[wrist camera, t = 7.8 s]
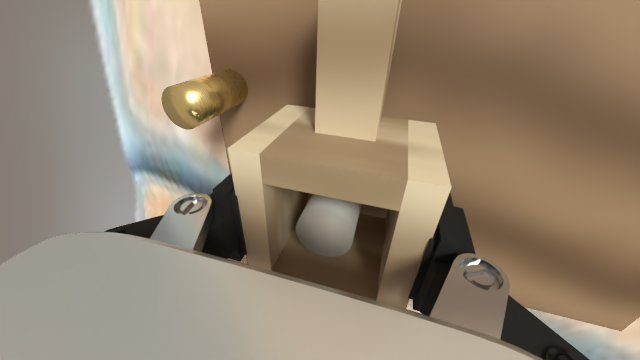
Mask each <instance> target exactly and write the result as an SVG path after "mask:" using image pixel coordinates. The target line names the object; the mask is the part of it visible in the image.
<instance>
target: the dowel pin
mask: <svg viewBox="0 0 640 360" xmlns="http://www.w3.org/2000/svg"><path fill="white" fill-rule="evenodd" d="M247 95H248V87H247V83H246V81H245V79H244V78H243V76H242V75H241V74H240V73H238V72H237V71H235V70H232V69H226V70H223V71H219V72H216V73H213V74H210V75H206V76H203V77H200V78H196V79H193V80H190V81H186V82H183V83H180V84H176V85H173V86H170V87H167V88H166V89H165V90H164V91H163V93H162V105H163V108H164V111H165V113H166V114H167V116H168V117H169V118H170V120H171V121H172V122H173V123H175V124H176V125H177V126H179V127H181V128H184V129H193V128H195V127H197V126H199V125H201V124H203V123H205V122H206V121H208V120H210V119H212V118H214V117H216V116H218V115H220V114H222V113H223V112H225V111H227V110H229V109H231V108H233V107H235V106H237V105H239V104H240V103H242V102H244V101H245V100H246V98H247Z"/></svg>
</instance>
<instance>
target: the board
mask: <svg viewBox="0 0 640 360" xmlns="http://www.w3.org/2000/svg"><path fill="white" fill-rule="evenodd" d="M199 2H200V7H201V13H202V18H203V24H204V29H205V35H206V41H207V46H208V52H209V57H210V63H211V69H212V74H213V73H216V72H219V71H223V70H226V69H232V70H235V71H237V72H238V73H240V74H241V75H242V76H243V78H244V79H245V81H246V83H247V87H248V95H247V98H246V100H245V101H244V102H242V103H240V104H239V105H237V106H235V107H233V108H231V109H229V110H227V111H225V112H223V113H222V114H220V119H221V124H222V130H223V136H224V141H225V147H226V152H227V158H228V164H229V169H230V174H231V173H232V172H231V166H230V160H229V154H228V149H227V148H229V147H230V146H231V145H233V144H234V143H235V142H237V141H238V140H240V139H241V138H242V137H244V136H245V135H246V134H248V133H249V132H250V131H252V130H253V129H255V128H256V127H257V126H259V125H260V124H261V123H263V122H264V121H266V120H267V119H268V118H270V117H271V116H272V115H274V114H275V113H276V112H278V111H279V110H281V109H282V108H283V107H285V106H286V105H295V106H303V107H311V108H316V70H317V32H318V0H199ZM382 117H390V118H398V119H406V120H414V121H422V122H430V123H436V126H437V130H438V134H439V138H440V142H441V146H442V150H443V154H444V159H445V163H446V167H447V171H448V175H449V179H450V183H451V187H452V188H451V190H450V193H451V197H452V202H453V206H455V207H460V208H463V210H464V213H465V217H466V220H467V224H468V228H469V231H470V235H471V238H472V242H473V246H474V249H475V253H476V254H477V255H480V256H483V257H486V258H487V259H489V260H491V261H493V262H494V263H495V264H497V265H498V266H499V267H500V268H501V269H502V270H503V271H504V272H505V273H506V275H507V277H508V279H509V283H510V289H509V294H508V295H509V296H511V297H512V298H513V299H514V300H516V301H517V302H518V303H519V304H521V305H522V306H523V307H527V308H531V309H535V310H539V311H543V312H547V313H551V314H555V315H559V316H563V317H567V318H571V319H575V320H579V321H583V322H587V323H591V324H595V325H599V326H603V327H607V328H611V329H615V330H619V331H622V330H623V329H625V328H626V327H627V326H629V325H630V324H631V323H632V322H634V321H635V320H636V319H637V318H639V317H640V0H402V3H401V9H400V15H399V20H398V26H397V32H396V38H395V44H394V50H393V56H392V62H391V68H390V73H389V79H388V85H387V91H386V97H385V103H384V109H383V115H382ZM387 212H388V209H385V208H380V207H375V206H370V205H365V204H360V203H356V202H351V201H346V200H341V199H336V198H331V197H326V196H321V195H316V194H311V193H308V203H307V205H306V207H305V209H304V210H303V212H302V214H301V216H300V218H299V220H298V222H297V224H296V234H297V237H298V239H299V241H300V242H301V243H302V244H303V245H304V246H305V247H306V248H307V249H308V250H310V251H312V252H313V253H316V254H318V255H321V256H326V257H336V256H340V255H343V254H345V253H346V252H347V251H348V250H349V249H350V248H351V246H352V242H353V238H354V234H355V230H356V226H357V222H358V218H359V214H360V213H363V214H367V215H372V216H377V217H382V218H386V216H387Z"/></svg>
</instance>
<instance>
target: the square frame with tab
mask: <svg viewBox="0 0 640 360" xmlns="http://www.w3.org/2000/svg"><path fill="white" fill-rule="evenodd" d="M401 3H402V0H318V32H317V70H316V108H311V107H303V106H295V105H286V106H285V107H283V108H282V109H281V110H279V111H278V112H276V113H275V114H274V115H272V116H271V117H270V118H268V119H267V120H266V121H264V122H263V123H261V124H260V125H259V126H257V127H256V128H255V129H253V130H252V131H250V132H249V133H248V134H246V135H245V136H244V137H242V138H241V139H240V140H238V141H237V142H235V143H234V144H233V145H231V146H230V147H229V148H227V149H228V154H229V160H230V166H231V172H232V177H233V183H234V189H235V195H236V196H237V198H238V204H239V210H240V216H241V222H242V227H243V233H244V239H245V245H246V251H247V255H246V258H247V263H248V265H250V266H254V267H258V268H261V269H265V270H268V271H272V272H276V273H279V274H283V275H286V276H290V277H294V278H297V279H301V280H304V281H308V282H311V283H315V284H319V285H322V286H326V287H329V288H333V289H336V290H340V291H343V292H347V293H351V294H354V295H358V296H361V297H365V298H368V299H372V300H375V301H379V302H382V303H386V304H389V305H393V306H396V307H400V308H403V309H406V307H407V304H408V302H409V298H408V297H409V294H410V292H411V289H412V286H413V283H414V281H415V278H416V275H417V273H418V270H419V267H420V265H421V262H422V259H423V256H424V254H425V251H426V248H427V246H428V243H429V240H430V238H433V235H434V233H435V230H436V227H437V225H438V222H439V219H440V217H441V214H442V211H443V209H444V206H445V204H446V201H447V198H448V196H449V193H450V190H451V188H452V187H451V183H450V179H449V175H448V171H447V167H446V163H445V159H444V154H443V150H442V146H441V142H440V138H439V134H438V130H437V126H436V123H430V122H422V121H414V120H406V119H398V118H390V117H382V115H383V109H384V103H385V97H386V91H387V85H388V79H389V73H390V68H391V62H392V56H393V50H394V44H395V38H396V32H397V26H398V20H399V15H400V9H401ZM308 193H311V194H316V195H321V196H326V197H331V198H336V199H341V200H346V201H351V202H356V203H360V204H365V205H370V206H375V207H380V208H385V209H388V212H387V216H386V218H382V217H377V216H372V215H367V214H363V213H360V214H359V218H358V222H357V226H356V230H355V234H354V238H353V242H352V246H351V248H350V249H349V250H348V251H347V252H346V253H345V254H343V255H340V256H336V257H326V256H321V255H318V254H316V253H313V252H312V251H310V250H308V249H307V248H306V247H305V246H304V245H303V244H302V243H301V242H300V241H299V239H298V237H297V234H296V224H297V222H298V220H299V218H300V216H301V214H302V212H303V210H304V209H305V207H306V205H307V203H308Z"/></svg>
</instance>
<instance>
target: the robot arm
mask: <svg viewBox="0 0 640 360" xmlns="http://www.w3.org/2000/svg"><path fill="white" fill-rule="evenodd" d="M245 254H246V255H247V251H246V245H245V239H244V233H243V227H242V222H241V216H240V210H239V204H238V198H237V196H236V195H235V189H234V183H233V177H232V173H231V174H230V175H229V176H228V177H226V178H225V179H224V180H223V181H222V182H221V183H220V184H219V185H217V186H216V187H215V188H214V189H213V193H212V194H211V195H210V196H208V195H206V194H202V193H194V194H188V195H184V196H182V197H180V198H178V199H176V200H175V201H173V203H172V204H171V205H170V206H169V208H168V210H167V211H166V213H165V214H164V215H162V216H158V217H154V218H150V219H147V220H143V221H139V222H135V223H132V224H128V225H124V226H120V227H116V228H113V229H109V230H107V231H105V232H85V233H84V232H83V233H73V234H66V235H61V236H57V237H54V238H50V239H48V240H45V241H43V242H41V243H39V244H37V245H35V246H33V247H31V248H29V249H27V250H25V251H23V252H22V253H20V254H18V255H16V256H14V257H13V258H11V259H9V260H7V261H6V262H4V263H2V264H0V360H589V359H588V358H587V357H585V356H584V355H583V354H582V353H580V352H579V351H578V350H577V349H575V348H574V347H573V346H572V345H570V344H569V343H568V342H567V341H565V340H564V339H563V338H562V337H560V336H559V335H558V334H557V333H555V332H554V331H553V330H552V329H550V328H549V327H548V326H547V325H546V324H544V323H543V322H542V321H541V320H539V319H538V318H537V317H536V316H534V315H533V314H532V313H531V312H529V311H528V310H527V309H526V308H524V307H523V306H522V305H521V304H519V303H518V302H517V301H516V300H514V299H513V298H512V297H511V296H509V295H508V294H509V289H510V283H509V279H508V277H507V275H506V273H505V272H504V271H503V270H502V269H501V268H500V267H499V266H498V265H497V264H495V263H494V262H493V261H491V260H489V259H487V258H486V257H483V256H480V255H477V254H476V253H475V249H474V246H473V242H472V238H471V235H470V231H469V228H468V224H467V220H466V217H465V213H464V210H463V208H460V207H455V206H453V202H452V197H451V193H449V196H448V198H447V201H446V204H445V206H444V209H443V211H442V214H441V217H440V219H439V222H438V225H437V227H436V230H435V233H434V235H433V238H430V240H429V243H428V246H427V248H426V251H425V254H424V256H423V259H422V262H421V265H420V267H419V270H418V273H417V275H416V278H415V281H414V283H413V286H412V289H411V292H410V294H409V297H408V298H409V299H413V310H417V311H420V312H421V313H422V314H420V313H417V312H413V311H410V310H407V309H403V308H400V307H396V306H393V305H389V304H386V303H382V302H379V301H375V300H372V299H368V298H365V297H361V296H358V295H354V294H351V293H347V292H343V291H340V290H336V289H333V288H329V287H326V286H322V285H319V284H315V283H311V282H308V281H304V280H301V279H297V278H294V277H290V276H286V275H283V274H279V273H276V272H272V271H268V270H265V269H261V268H258V267H254V266H250V265H247V264H243V263H239V262H236V261H241V260H242V258H243V257H244V255H245ZM228 258H229V259H233V260H236V261H232V260H228Z"/></svg>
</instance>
